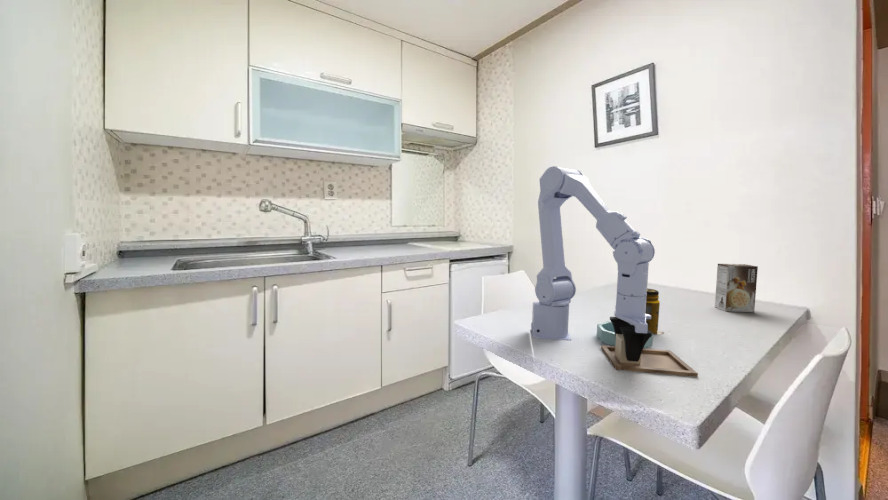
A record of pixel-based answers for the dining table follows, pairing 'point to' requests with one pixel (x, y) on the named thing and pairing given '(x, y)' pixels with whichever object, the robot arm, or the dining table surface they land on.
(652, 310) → the condiment
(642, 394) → the dining table surface
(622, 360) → the beige block
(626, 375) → the dining table surface
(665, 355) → the tray
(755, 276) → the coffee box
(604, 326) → the bowl
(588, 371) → the dining table surface
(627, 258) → the robot arm
